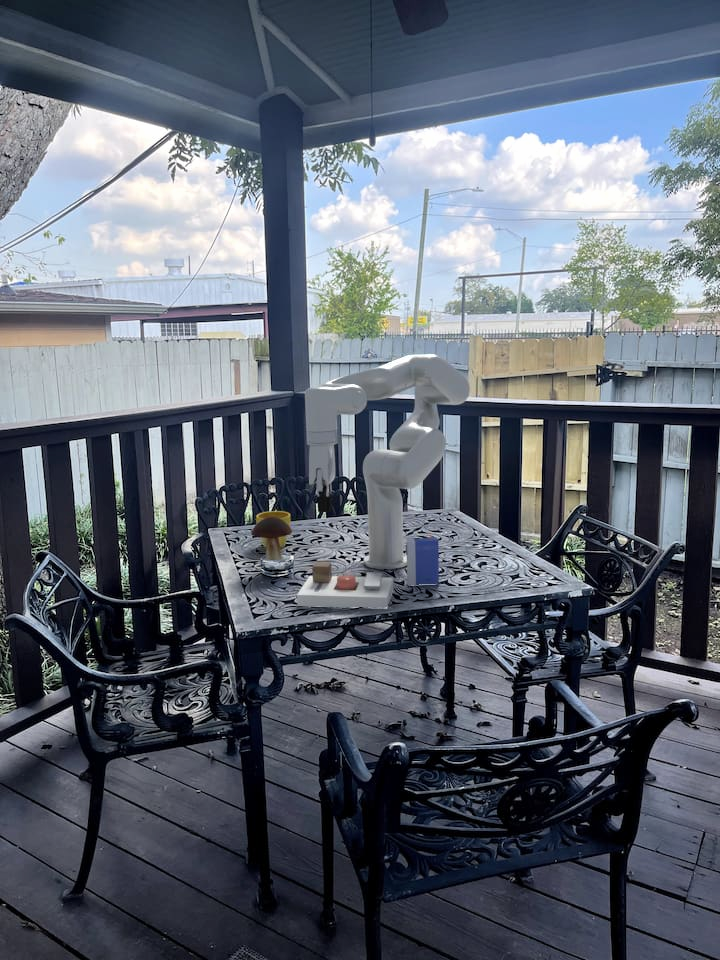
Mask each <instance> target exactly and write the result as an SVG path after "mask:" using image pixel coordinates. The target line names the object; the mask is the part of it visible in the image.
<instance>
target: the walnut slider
mask: <svg viewBox="0 0 720 960" xmlns="http://www.w3.org/2000/svg"><path fill="white" fill-rule="evenodd" d="M311 568H312V576H313V582H330V580H331V578H332V576H333V575H332V562H329V561H328V562H327V561H315V562H314V563H313V564H312V567H311Z"/></svg>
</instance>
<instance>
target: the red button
mask: <svg viewBox="0 0 720 960" xmlns="http://www.w3.org/2000/svg"><path fill="white" fill-rule="evenodd" d="M355 577H356V576H355V575H352V574H342V575H339V577H337V590H356V579H355Z"/></svg>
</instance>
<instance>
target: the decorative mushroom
mask: <svg viewBox="0 0 720 960" xmlns="http://www.w3.org/2000/svg"><path fill="white" fill-rule="evenodd" d="M292 533H293V530H292V528H291V525H290V526H289V525H288V524H287V523H286V522H284V521H283V520H282V519H280V518H277V517H273V516H271V517H267V518H265V519H263V520H261V521H260V522H259V523H257V524H255V525H254V527H253V529H252V531H251V536H252V537H253V536H254V537H256V538H257V537H258V538H261V537H263V538H267V542H266V548H265V561H266V560H280V559H282V551H281V548H280V544H279V540H278V537H283V536H286V535H287V536H289V535H291V534H292Z"/></svg>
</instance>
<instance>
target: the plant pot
mask: <svg viewBox="0 0 720 960" xmlns="http://www.w3.org/2000/svg"><path fill="white" fill-rule="evenodd" d="M271 516H273V517H277V518H280V519H282V520H283V521H284V522H286V523H287V524H288V525H289V526H290V527H291V513H289V512H288V511H287V512H286V511H282V510H279V511H278V510H273V511H272V510H270V511H263V512H260V513H258V514H257V515H256V516H255V520H256V524H257V523H259V522H260V521H261V520H263V519H265V518H267V517H271ZM256 524H255V525H256ZM287 537H288V535H286V536H283V537H278V540H279V544H280V549H281V548H284V547H285V546H286V543H287ZM260 538H261V542H262V545H263V547H264V548H265V549H266V542H267V538H263V537H260Z"/></svg>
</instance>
